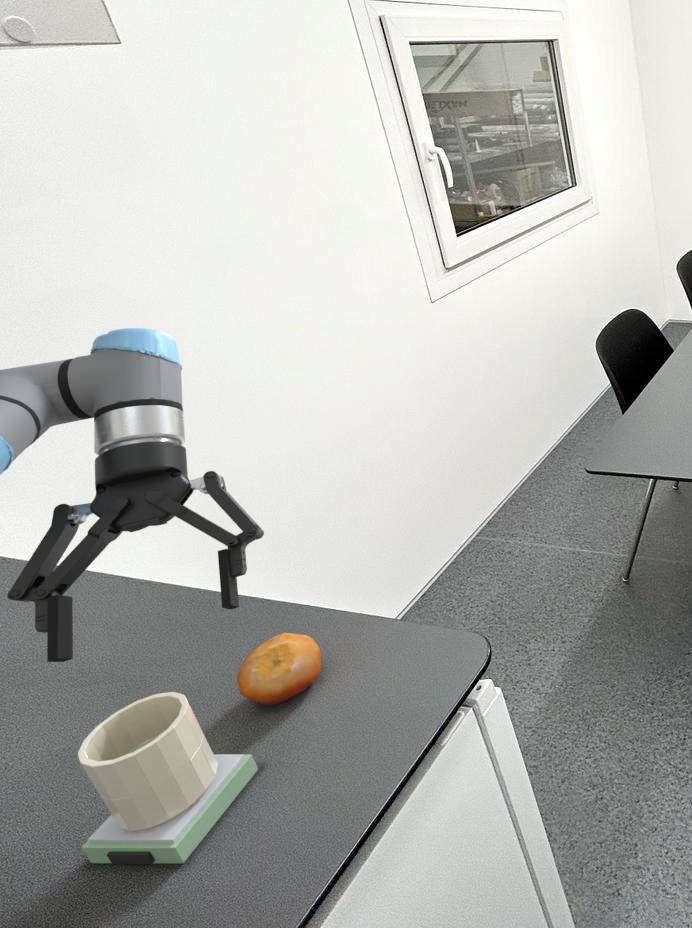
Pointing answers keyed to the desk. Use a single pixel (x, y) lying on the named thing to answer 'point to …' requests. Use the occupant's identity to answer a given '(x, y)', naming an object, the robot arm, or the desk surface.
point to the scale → (174, 822)
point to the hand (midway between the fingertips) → (149, 633)
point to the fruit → (280, 668)
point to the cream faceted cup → (149, 761)
